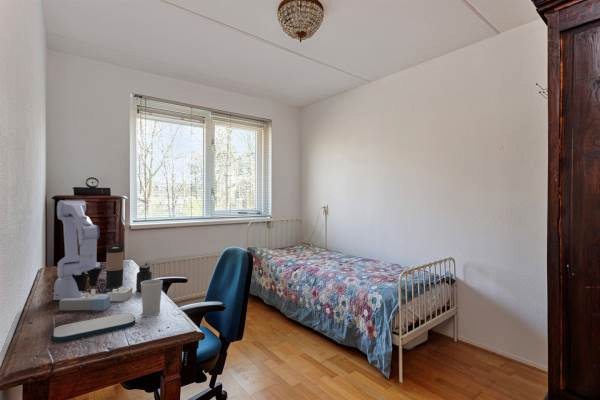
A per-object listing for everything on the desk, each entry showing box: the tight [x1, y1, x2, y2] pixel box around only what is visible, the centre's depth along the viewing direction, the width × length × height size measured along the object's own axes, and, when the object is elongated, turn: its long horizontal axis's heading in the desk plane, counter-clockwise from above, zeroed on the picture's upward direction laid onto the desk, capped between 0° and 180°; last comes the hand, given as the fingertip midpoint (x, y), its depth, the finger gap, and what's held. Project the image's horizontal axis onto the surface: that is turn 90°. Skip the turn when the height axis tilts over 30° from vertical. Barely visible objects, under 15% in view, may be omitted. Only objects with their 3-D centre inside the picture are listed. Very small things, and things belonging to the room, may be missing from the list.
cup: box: [140, 279, 164, 316], centre depth 123 cm, size 8×8×12 cm
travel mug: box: [105, 245, 125, 289], centre depth 157 cm, size 8×8×20 cm
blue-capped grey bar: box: [58, 296, 111, 311], centre depth 125 cm, size 18×4×4 cm, turn 96°
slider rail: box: [79, 287, 134, 302], centre depth 138 cm, size 21×9×4 cm, turn 96°
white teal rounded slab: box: [52, 312, 136, 343], centre depth 106 cm, size 24×12×2 cm, turn 128°
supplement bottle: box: [135, 265, 153, 293], centre depth 150 cm, size 7×7×12 cm
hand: (87, 288), depth 125 cm, fingers open, 7 cm apart
